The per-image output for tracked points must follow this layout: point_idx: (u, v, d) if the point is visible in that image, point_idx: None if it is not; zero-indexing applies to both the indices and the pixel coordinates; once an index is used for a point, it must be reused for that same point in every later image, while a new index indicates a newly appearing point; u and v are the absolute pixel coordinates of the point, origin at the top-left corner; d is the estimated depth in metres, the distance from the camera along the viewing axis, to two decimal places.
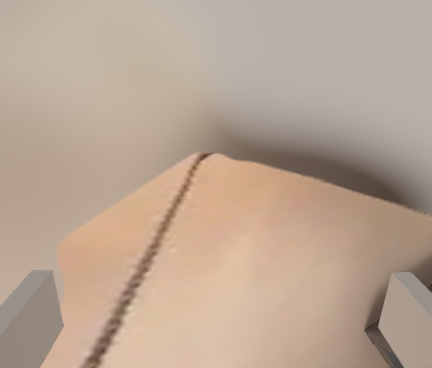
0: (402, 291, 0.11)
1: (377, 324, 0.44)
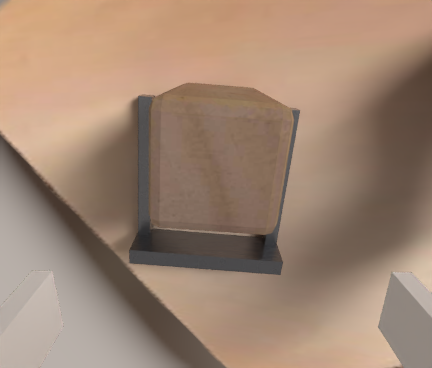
0: (402, 291, 0.11)
1: None
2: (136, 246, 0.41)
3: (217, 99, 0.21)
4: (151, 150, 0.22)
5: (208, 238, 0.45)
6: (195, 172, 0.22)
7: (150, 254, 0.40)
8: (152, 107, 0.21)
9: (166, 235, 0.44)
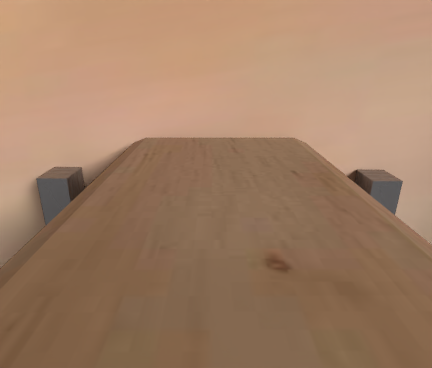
0: None
1: None
2: None
3: None
4: None
5: None
6: None
7: None
8: None
9: None
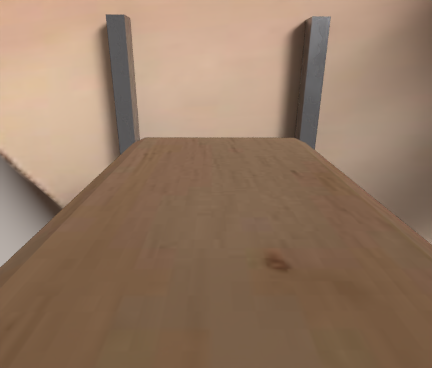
0: None
1: None
2: None
3: None
4: None
5: None
6: None
7: None
8: None
9: None
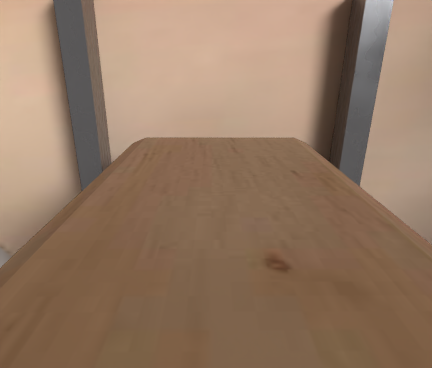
0: None
1: None
2: None
3: None
4: None
5: None
6: None
7: None
8: None
9: None
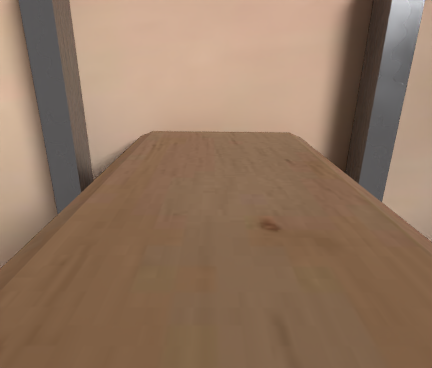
0: None
1: None
2: None
3: None
4: None
5: None
6: None
7: None
8: None
9: None
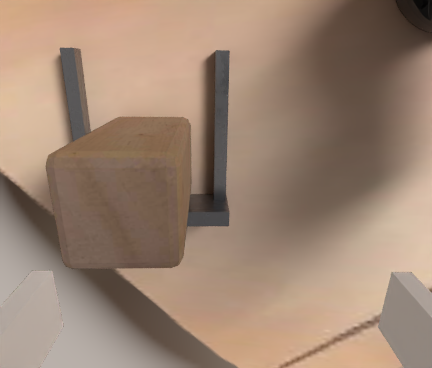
0: (402, 291, 0.11)
1: None
2: None
3: (107, 152, 0.23)
4: (52, 201, 0.23)
5: None
6: (95, 218, 0.24)
7: None
8: (46, 164, 0.22)
9: None
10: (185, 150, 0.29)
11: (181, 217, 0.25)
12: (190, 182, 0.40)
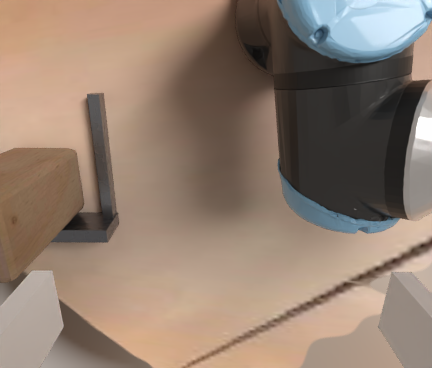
0: (402, 291, 0.11)
1: None
2: None
3: None
4: None
5: None
6: None
7: None
8: None
9: None
10: (33, 185, 0.36)
11: (8, 243, 0.31)
12: (76, 204, 0.47)
